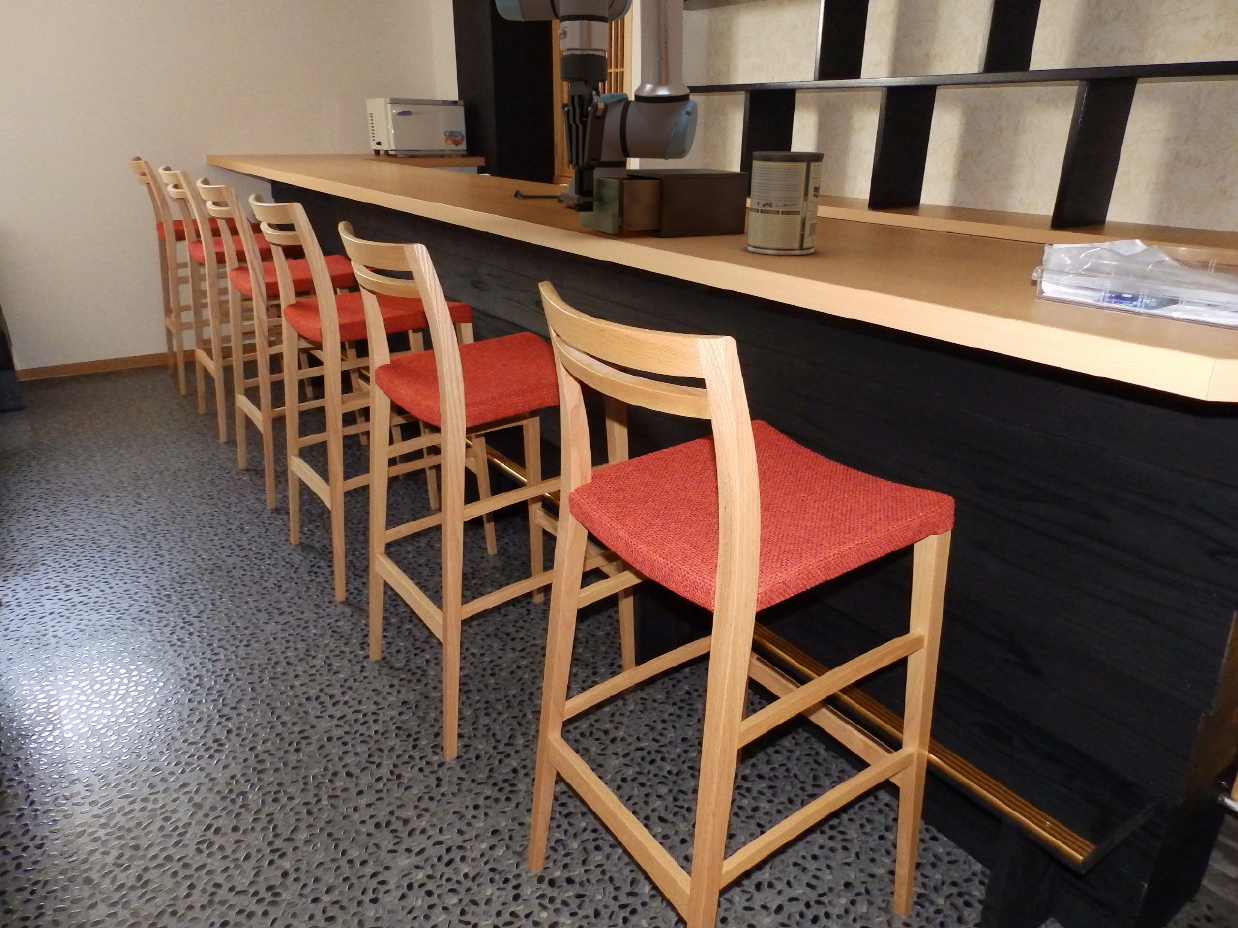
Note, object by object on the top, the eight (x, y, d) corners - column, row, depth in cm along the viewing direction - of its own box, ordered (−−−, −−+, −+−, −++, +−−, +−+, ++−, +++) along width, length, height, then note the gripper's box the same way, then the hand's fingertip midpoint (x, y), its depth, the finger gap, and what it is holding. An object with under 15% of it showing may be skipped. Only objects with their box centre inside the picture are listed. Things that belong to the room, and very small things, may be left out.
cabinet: (662, 237, 140) (664, 174, 137) (624, 228, 152) (625, 169, 148) (744, 233, 147) (748, 173, 144) (702, 225, 159) (704, 168, 155)
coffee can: (744, 245, 133) (751, 150, 128) (810, 247, 132) (819, 152, 127) (747, 254, 124) (754, 152, 118) (818, 256, 123) (828, 154, 117)
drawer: (584, 235, 135) (584, 180, 131) (553, 226, 145) (552, 175, 142) (693, 230, 143) (695, 179, 140) (656, 222, 154) (657, 174, 151)
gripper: (545, 55, 135) (548, 208, 144) (579, 50, 124) (579, 216, 133) (588, 58, 138) (588, 207, 147) (624, 53, 127) (621, 214, 136)
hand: (584, 211), depth 140 cm, fingers closed
